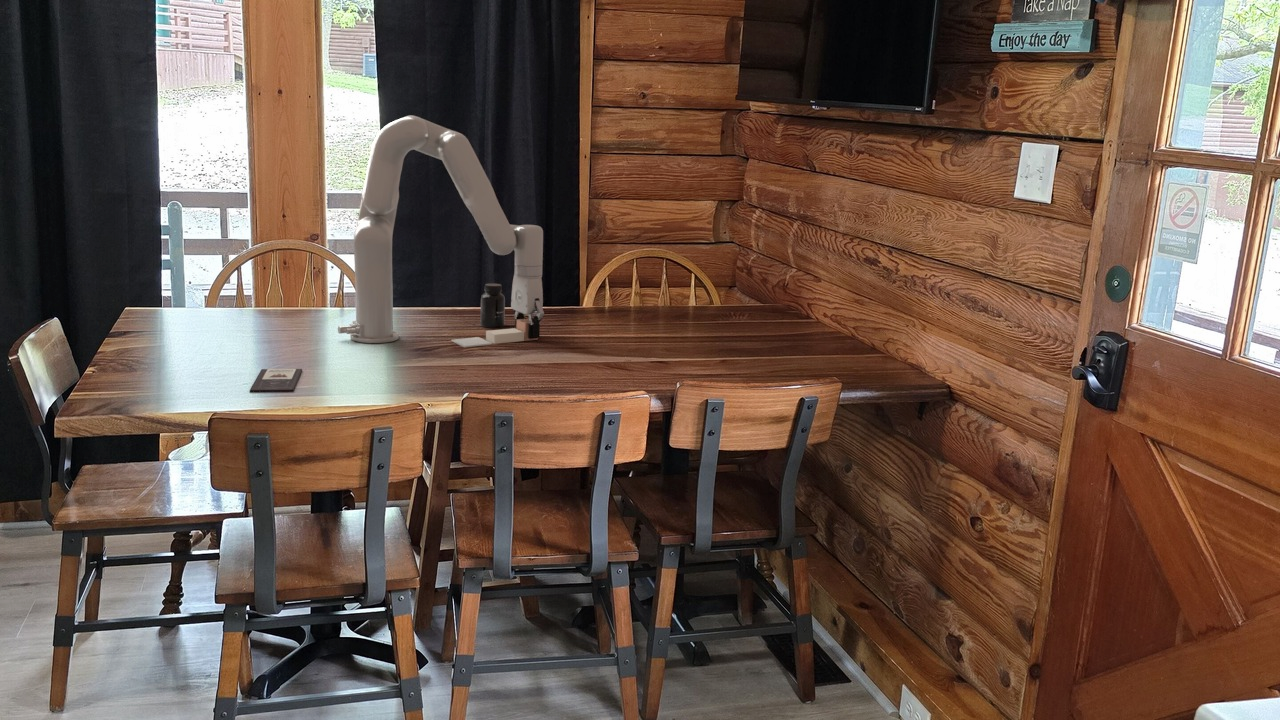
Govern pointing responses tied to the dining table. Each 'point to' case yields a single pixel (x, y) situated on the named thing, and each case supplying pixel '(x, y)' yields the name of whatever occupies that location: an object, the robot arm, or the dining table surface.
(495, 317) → the supplement bottle
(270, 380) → the chocolate bar
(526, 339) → the tan wooden block
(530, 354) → the dining table surface
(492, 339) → the cream rectangular block
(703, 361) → the dining table surface
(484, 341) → the mat
